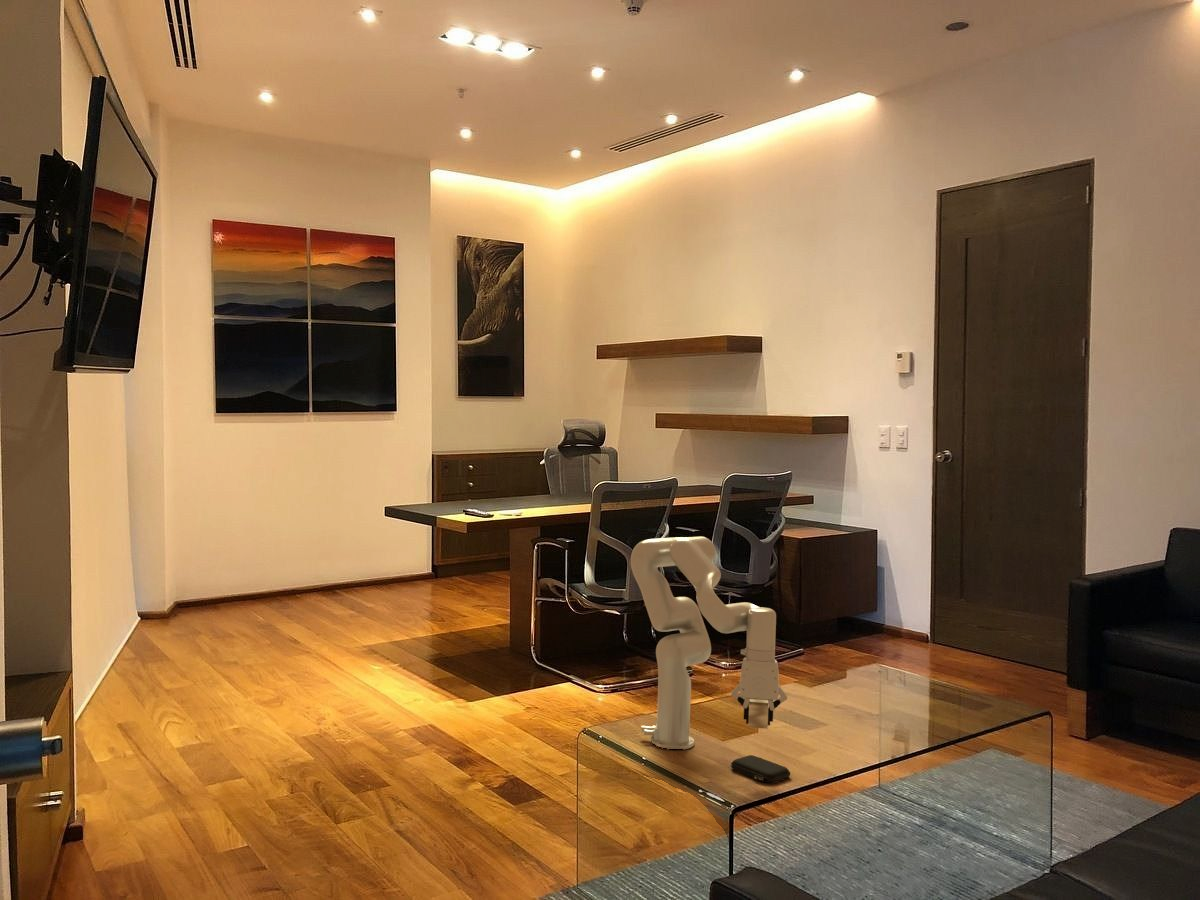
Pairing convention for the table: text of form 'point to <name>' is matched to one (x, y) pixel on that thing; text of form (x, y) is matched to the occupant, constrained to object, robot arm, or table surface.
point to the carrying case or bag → (760, 769)
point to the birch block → (758, 714)
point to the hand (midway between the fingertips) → (758, 722)
